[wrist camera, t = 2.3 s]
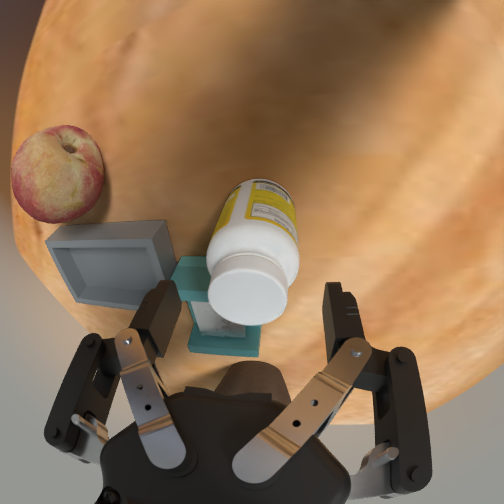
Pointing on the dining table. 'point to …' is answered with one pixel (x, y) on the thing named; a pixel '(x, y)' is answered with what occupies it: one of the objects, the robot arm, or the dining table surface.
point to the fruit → (57, 174)
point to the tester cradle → (196, 289)
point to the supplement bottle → (253, 253)
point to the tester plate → (215, 322)
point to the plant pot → (254, 381)
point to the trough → (113, 260)
